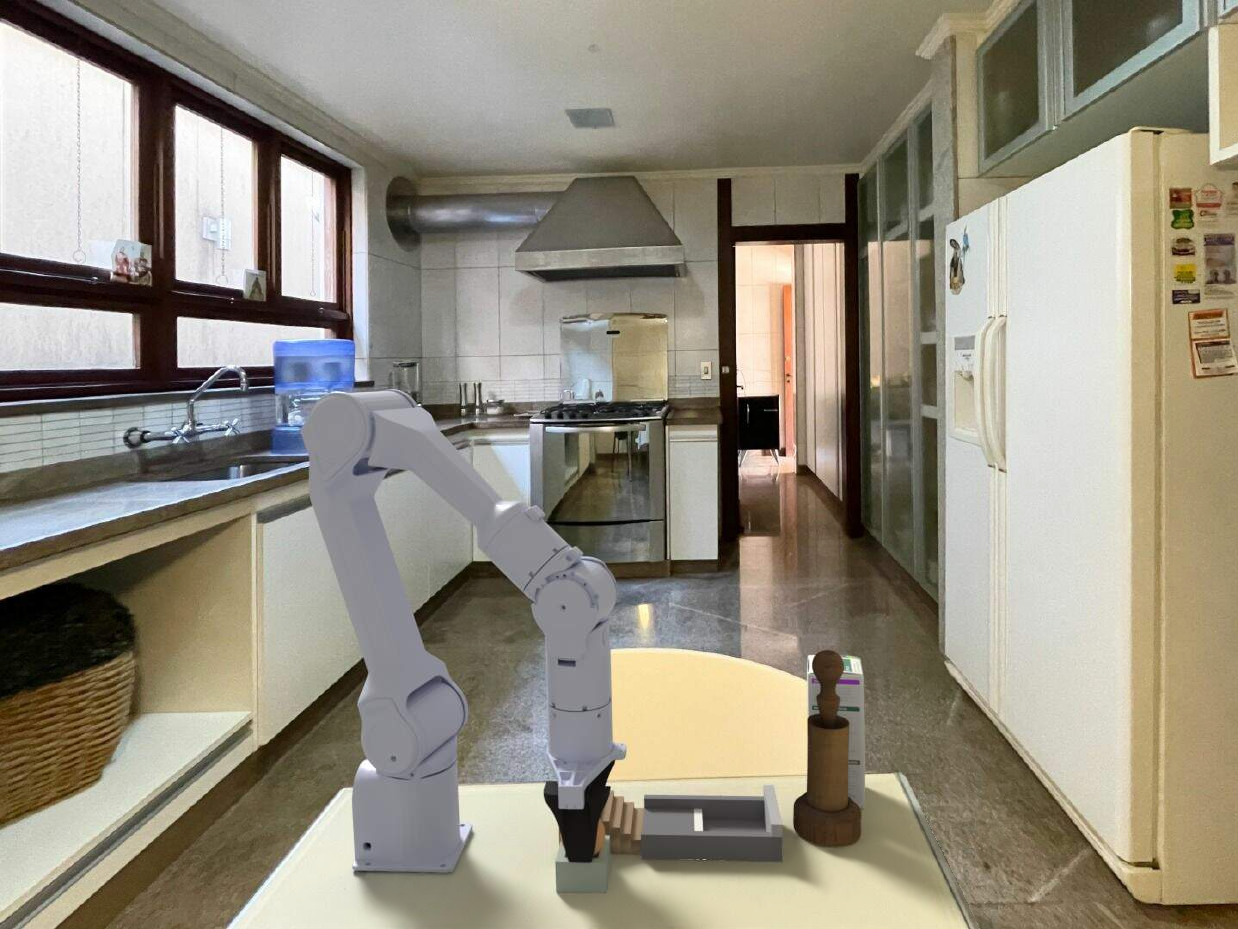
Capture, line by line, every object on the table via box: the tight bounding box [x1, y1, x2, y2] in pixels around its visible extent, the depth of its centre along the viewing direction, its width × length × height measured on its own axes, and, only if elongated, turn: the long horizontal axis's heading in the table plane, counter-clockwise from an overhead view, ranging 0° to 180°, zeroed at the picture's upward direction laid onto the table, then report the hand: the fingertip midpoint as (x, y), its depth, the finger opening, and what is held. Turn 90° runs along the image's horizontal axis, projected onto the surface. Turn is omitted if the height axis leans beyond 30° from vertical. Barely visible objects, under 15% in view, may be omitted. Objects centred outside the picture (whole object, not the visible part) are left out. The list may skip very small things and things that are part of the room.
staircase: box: [558, 789, 644, 855], centre depth 84 cm, size 8×6×6 cm
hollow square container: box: [554, 836, 611, 894], centre depth 78 cm, size 4×4×3 cm
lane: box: [640, 784, 783, 863], centre depth 84 cm, size 13×8×4 cm, turn 86°
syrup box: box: [806, 654, 866, 810], centre depth 91 cm, size 6×6×14 cm
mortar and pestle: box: [792, 649, 862, 848], centre depth 84 cm, size 7×6×18 cm
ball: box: [560, 819, 605, 855], centre depth 77 cm, size 4×4×4 cm
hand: (583, 846), depth 78 cm, fingers closed on ball, 4 cm apart
